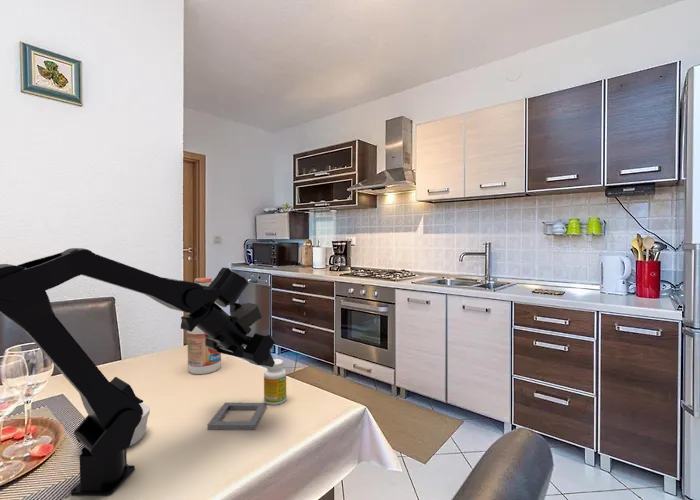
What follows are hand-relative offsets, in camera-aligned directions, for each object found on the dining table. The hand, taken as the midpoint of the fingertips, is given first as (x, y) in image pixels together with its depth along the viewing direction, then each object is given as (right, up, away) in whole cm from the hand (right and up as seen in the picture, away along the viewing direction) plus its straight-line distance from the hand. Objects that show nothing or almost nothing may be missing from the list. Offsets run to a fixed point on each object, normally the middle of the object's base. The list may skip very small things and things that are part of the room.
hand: (260, 360), depth 83 cm
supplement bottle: (+3, -11, +4) cm, 12 cm away
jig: (-4, -11, -4) cm, 13 cm away
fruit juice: (-23, -11, +25) cm, 36 cm away
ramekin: (-25, -12, -13) cm, 31 cm away
